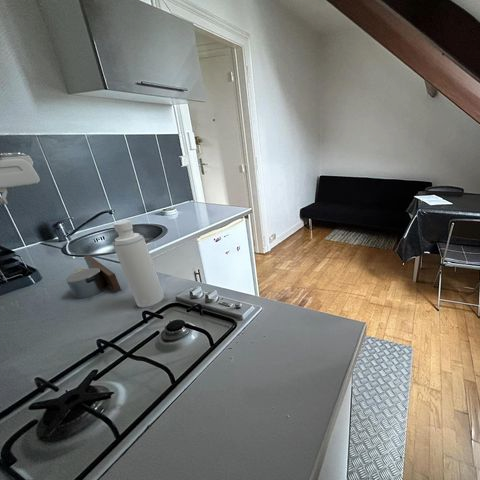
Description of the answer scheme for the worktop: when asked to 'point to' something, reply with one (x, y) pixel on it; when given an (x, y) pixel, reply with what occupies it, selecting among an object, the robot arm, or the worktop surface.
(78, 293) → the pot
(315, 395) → the worktop surface
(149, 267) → the white bottle
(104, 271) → the backboard
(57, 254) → the worktop surface
